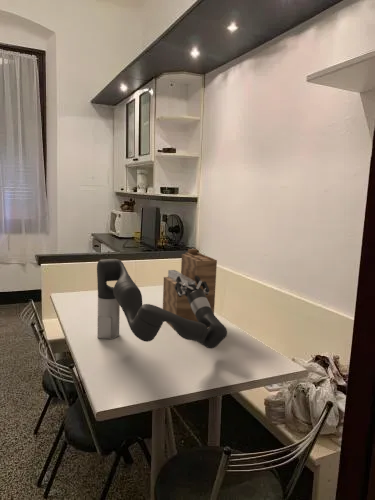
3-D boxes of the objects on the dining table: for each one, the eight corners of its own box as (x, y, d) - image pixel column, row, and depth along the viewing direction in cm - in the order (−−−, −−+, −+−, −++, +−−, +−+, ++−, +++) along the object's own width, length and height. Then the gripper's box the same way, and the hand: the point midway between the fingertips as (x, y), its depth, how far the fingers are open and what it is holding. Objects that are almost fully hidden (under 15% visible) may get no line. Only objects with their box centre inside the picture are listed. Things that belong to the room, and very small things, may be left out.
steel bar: (195, 289, 169) (195, 281, 168) (187, 289, 168) (188, 281, 167) (174, 276, 191) (175, 269, 190) (168, 277, 189) (168, 270, 189)
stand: (213, 326, 184) (217, 254, 179) (175, 331, 177) (178, 256, 171) (197, 314, 200) (200, 248, 195) (162, 318, 193) (164, 249, 188)
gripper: (217, 296, 162) (203, 270, 173) (185, 298, 156) (173, 271, 167) (212, 308, 166) (199, 282, 177) (181, 311, 160) (170, 284, 172)
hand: (186, 277), depth 172 cm, fingers open, 8 cm apart
